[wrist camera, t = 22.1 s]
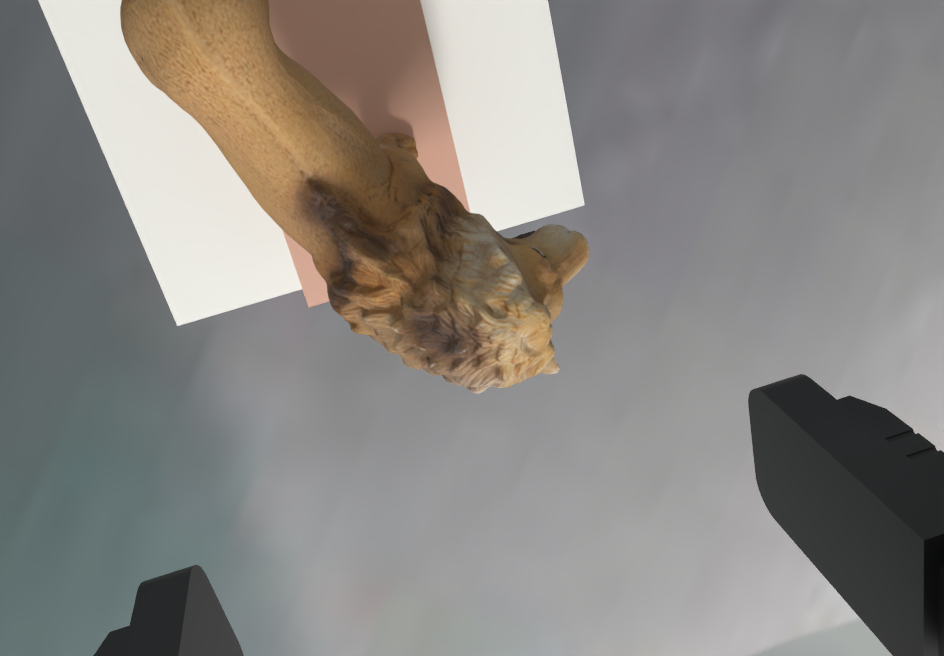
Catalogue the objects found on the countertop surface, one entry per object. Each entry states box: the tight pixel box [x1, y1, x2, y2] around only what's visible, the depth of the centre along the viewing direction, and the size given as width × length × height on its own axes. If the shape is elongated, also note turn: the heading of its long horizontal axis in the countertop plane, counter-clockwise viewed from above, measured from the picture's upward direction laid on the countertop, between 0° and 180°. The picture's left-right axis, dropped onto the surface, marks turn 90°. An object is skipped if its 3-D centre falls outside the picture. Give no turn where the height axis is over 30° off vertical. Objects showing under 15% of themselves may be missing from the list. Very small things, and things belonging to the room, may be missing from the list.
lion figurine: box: [120, 0, 589, 393], centre depth 20 cm, size 15×5×9 cm, turn 47°
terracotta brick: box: [268, 0, 470, 307], centre depth 27 cm, size 6×9×6 cm, turn 13°
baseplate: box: [38, 0, 584, 326], centre depth 30 cm, size 16×12×1 cm
